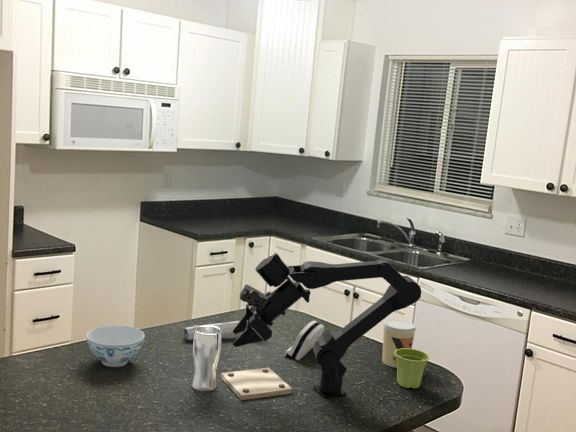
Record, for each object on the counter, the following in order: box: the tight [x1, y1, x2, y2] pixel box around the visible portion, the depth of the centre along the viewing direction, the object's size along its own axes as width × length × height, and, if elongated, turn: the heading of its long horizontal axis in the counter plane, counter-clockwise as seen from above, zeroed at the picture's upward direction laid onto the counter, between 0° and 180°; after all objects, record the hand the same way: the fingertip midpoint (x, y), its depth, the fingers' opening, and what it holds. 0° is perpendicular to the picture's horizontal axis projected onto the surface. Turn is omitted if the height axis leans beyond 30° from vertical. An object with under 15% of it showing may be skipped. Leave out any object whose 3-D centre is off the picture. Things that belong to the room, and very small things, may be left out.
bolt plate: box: [220, 367, 293, 401], centre depth 165 cm, size 14×14×2 cm
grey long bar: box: [183, 320, 240, 342], centre depth 198 cm, size 5×7×25 cm
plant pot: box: [395, 348, 430, 389], centre depth 174 cm, size 9×9×9 cm
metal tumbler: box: [191, 325, 222, 392], centre depth 161 cm, size 7×7×15 cm
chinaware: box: [86, 325, 146, 368], centre depth 171 cm, size 15×15×8 cm
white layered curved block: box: [283, 320, 325, 361], centre depth 192 cm, size 17×5×10 cm, turn 158°
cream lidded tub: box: [381, 319, 416, 369], centre depth 189 cm, size 9×9×12 cm
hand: (233, 339), depth 161 cm, fingers open, 9 cm apart
